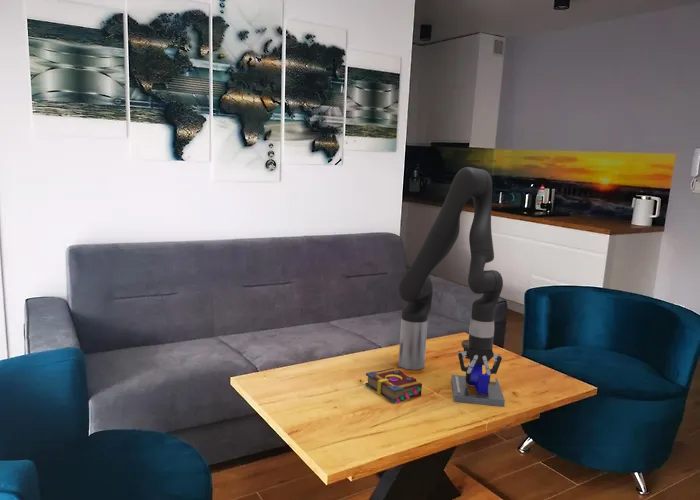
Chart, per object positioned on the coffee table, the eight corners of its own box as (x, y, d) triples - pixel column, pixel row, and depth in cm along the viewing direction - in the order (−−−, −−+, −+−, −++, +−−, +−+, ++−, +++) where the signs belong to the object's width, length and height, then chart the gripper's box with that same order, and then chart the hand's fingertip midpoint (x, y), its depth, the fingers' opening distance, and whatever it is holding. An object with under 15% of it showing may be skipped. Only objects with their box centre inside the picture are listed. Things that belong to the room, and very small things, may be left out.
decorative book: (392, 379, 184) (393, 365, 183) (424, 398, 171) (425, 383, 170) (364, 386, 178) (365, 371, 177) (395, 405, 165) (396, 390, 164)
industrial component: (484, 357, 208) (487, 327, 206) (472, 361, 204) (474, 329, 202) (465, 350, 216) (468, 320, 214) (453, 353, 211) (455, 323, 209)
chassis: (454, 401, 168) (454, 393, 168) (451, 380, 185) (451, 372, 185) (504, 406, 167) (504, 398, 166) (496, 384, 183) (497, 376, 183)
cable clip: (466, 378, 182) (467, 361, 181) (480, 379, 182) (481, 361, 181) (472, 393, 170) (474, 375, 169) (487, 394, 170) (489, 376, 169)
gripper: (459, 334, 170) (455, 387, 173) (506, 338, 168) (501, 391, 171) (457, 327, 177) (453, 378, 180) (503, 331, 175) (498, 381, 178)
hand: (477, 384), depth 175 cm, fingers closed on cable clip, 4 cm apart
